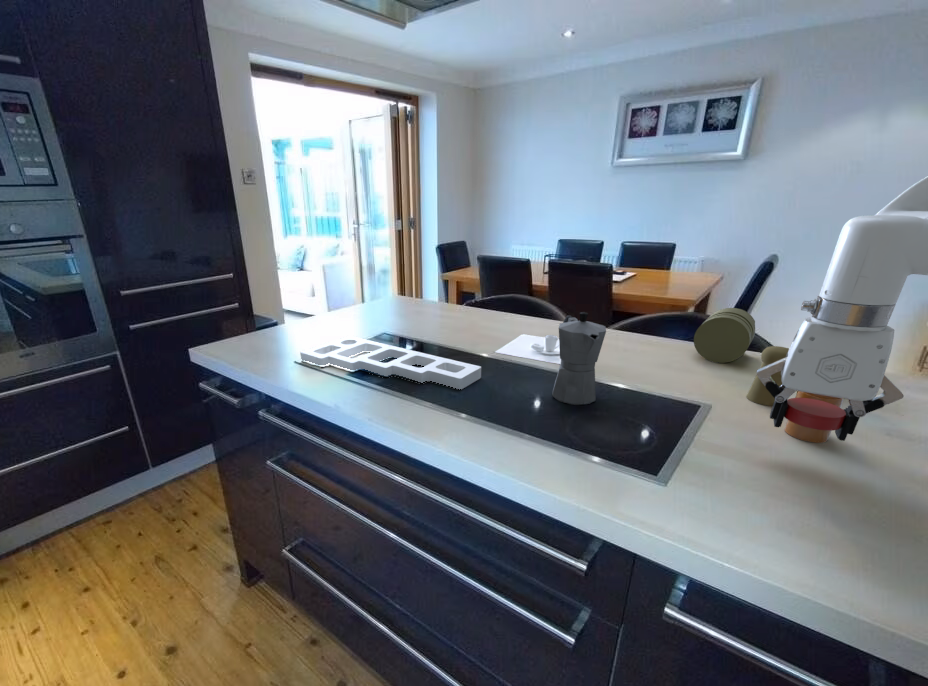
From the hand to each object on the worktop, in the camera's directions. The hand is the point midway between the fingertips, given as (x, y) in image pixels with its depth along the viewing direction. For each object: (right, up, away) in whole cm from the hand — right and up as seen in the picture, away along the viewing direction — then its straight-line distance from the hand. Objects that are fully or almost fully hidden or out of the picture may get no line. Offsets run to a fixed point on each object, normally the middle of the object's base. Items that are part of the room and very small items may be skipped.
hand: (807, 429), depth 66 cm
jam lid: (0, +3, -1) cm, 3 cm away
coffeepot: (-26, +4, +28) cm, 38 cm away
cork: (+12, +3, +23) cm, 26 cm away
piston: (+19, +14, +47) cm, 52 cm away
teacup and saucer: (-24, +17, +56) cm, 63 cm away
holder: (-67, +10, +44) cm, 81 cm away
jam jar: (+9, -2, +10) cm, 13 cm away
